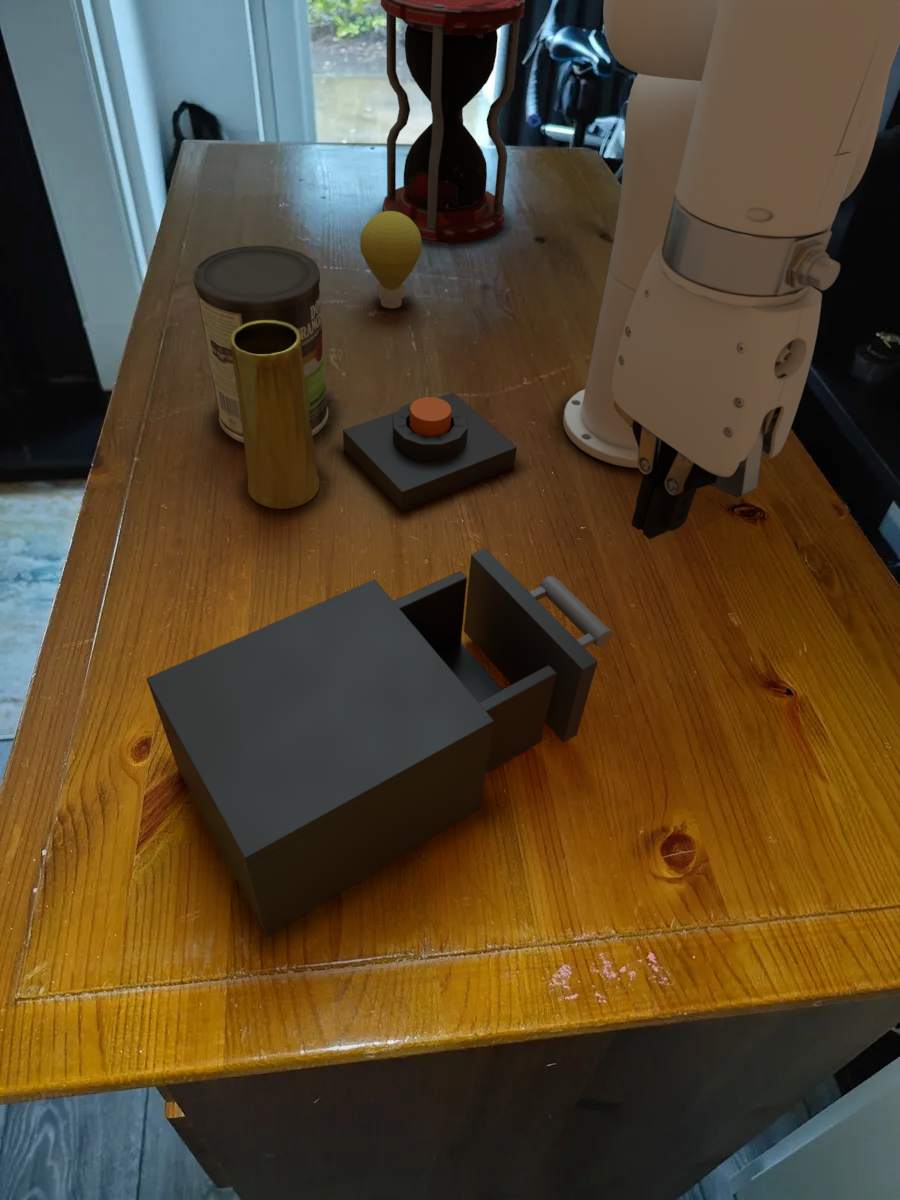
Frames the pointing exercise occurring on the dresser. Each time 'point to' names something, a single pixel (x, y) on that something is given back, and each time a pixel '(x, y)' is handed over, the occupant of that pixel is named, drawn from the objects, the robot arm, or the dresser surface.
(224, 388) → the coffee can
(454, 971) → the dresser surface
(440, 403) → the button
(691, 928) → the dresser surface
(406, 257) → the light bulb
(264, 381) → the vase
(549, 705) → the drawer
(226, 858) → the dark grey box
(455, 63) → the hourglass
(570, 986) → the dresser surface
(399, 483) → the control block
